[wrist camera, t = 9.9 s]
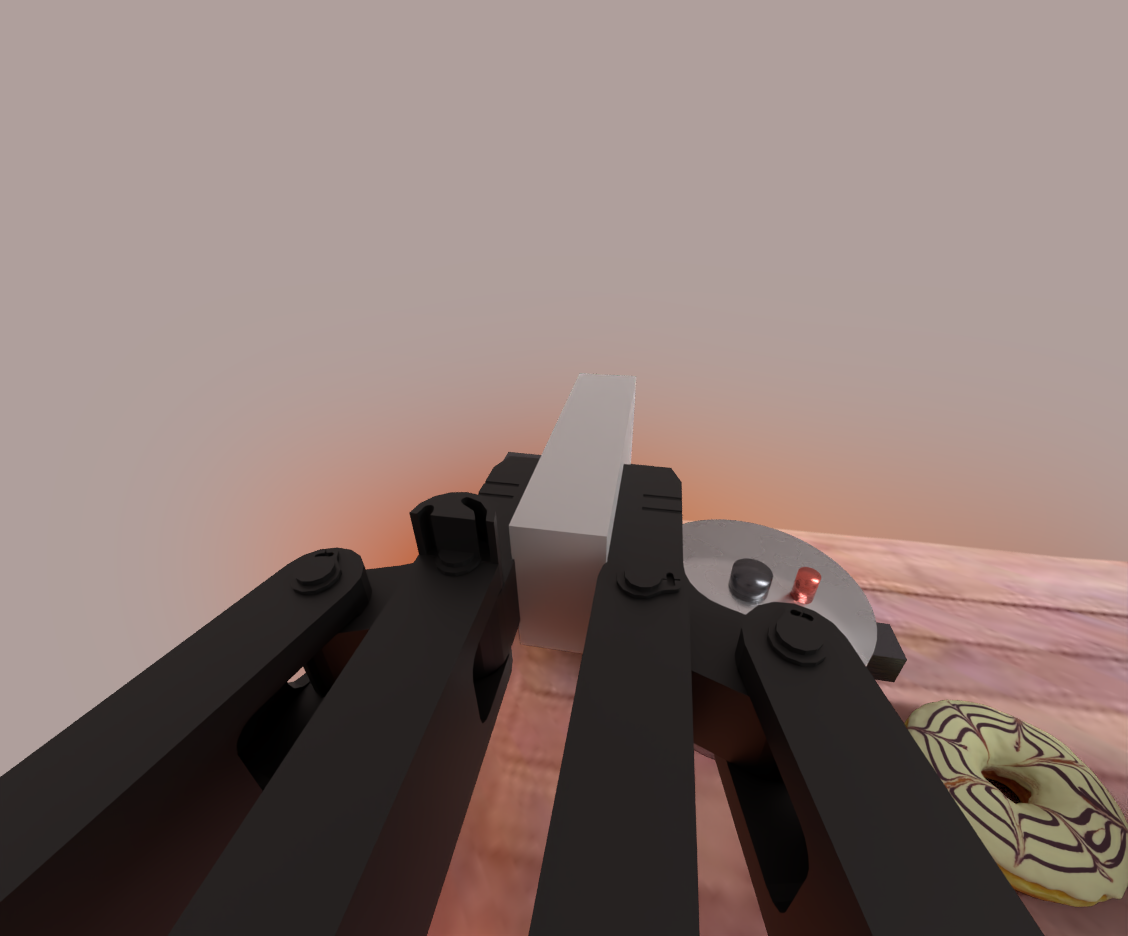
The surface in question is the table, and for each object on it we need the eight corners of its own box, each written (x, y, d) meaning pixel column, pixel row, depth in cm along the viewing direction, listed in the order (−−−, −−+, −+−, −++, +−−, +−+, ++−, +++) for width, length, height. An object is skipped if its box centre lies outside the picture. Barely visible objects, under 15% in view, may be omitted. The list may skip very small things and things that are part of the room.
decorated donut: (1165, 899, 26) (1216, 871, 24) (988, 937, 24) (1026, 911, 22) (993, 713, 34) (1019, 681, 32) (855, 734, 33) (874, 702, 31)
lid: (833, 543, 39) (870, 443, 34) (912, 729, 26) (990, 610, 21) (534, 508, 43) (530, 415, 38) (473, 653, 30) (455, 539, 25)
